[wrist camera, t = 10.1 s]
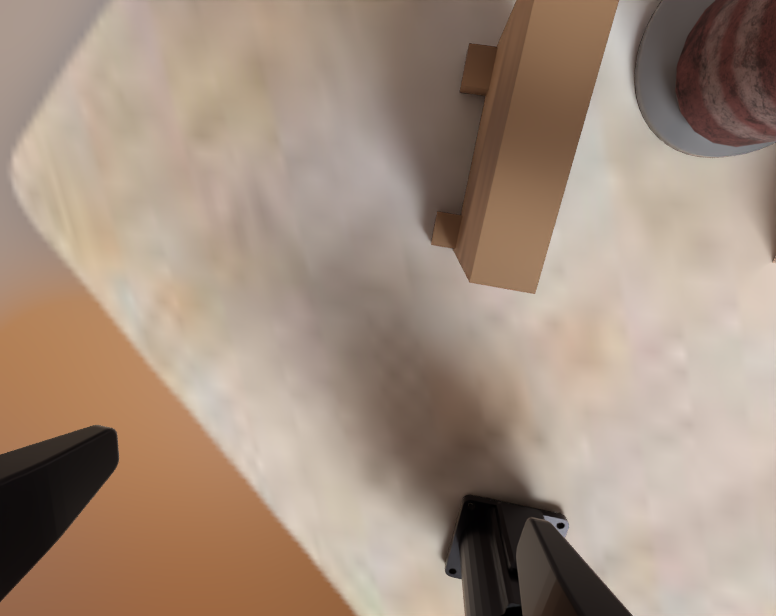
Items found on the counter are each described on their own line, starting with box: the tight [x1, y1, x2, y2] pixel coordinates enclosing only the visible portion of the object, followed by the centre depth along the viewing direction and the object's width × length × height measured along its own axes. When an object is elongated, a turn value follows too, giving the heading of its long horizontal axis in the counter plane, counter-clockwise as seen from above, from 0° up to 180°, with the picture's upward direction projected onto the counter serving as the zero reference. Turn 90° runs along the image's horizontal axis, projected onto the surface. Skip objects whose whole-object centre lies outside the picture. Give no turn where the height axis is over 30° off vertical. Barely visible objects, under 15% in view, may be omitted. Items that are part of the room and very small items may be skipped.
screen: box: [431, 0, 619, 294], centre depth 14 cm, size 9×4×8 cm, turn 172°
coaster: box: [635, 0, 776, 158], centre depth 15 cm, size 8×8×1 cm
